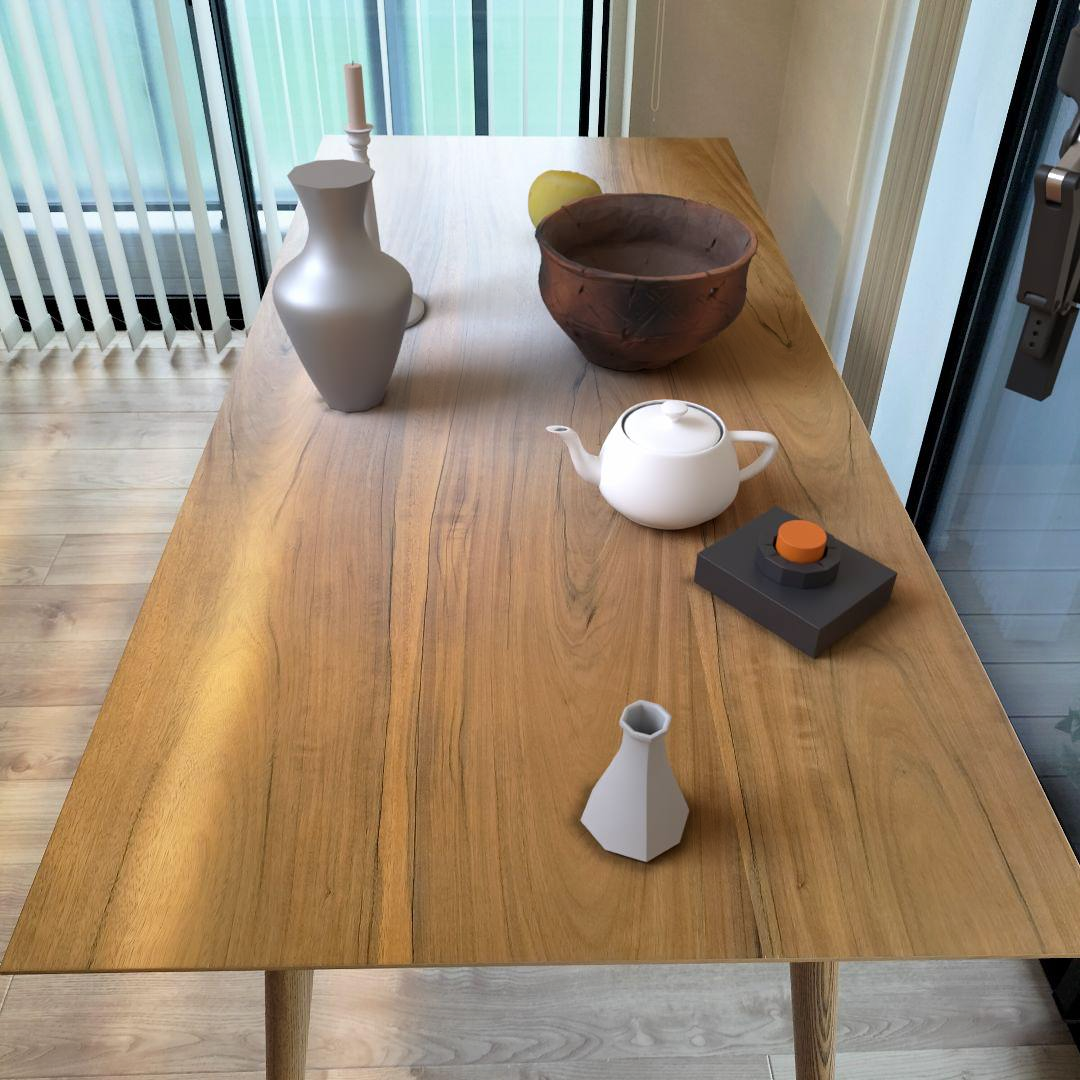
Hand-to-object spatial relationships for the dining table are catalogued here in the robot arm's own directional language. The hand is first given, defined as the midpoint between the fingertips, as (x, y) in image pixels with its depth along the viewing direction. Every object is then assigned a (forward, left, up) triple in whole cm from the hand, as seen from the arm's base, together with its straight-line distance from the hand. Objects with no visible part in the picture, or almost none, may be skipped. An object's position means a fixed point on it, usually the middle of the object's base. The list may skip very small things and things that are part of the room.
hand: (1027, 391), depth 76 cm
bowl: (+52, -17, -24) cm, 60 cm away
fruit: (+83, -34, -24) cm, 93 cm away
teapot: (+29, +4, -24) cm, 38 cm away
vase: (+65, +15, -24) cm, 71 cm away
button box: (+12, +5, -24) cm, 27 cm away
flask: (+4, +33, -24) cm, 41 cm away
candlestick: (+81, +1, -24) cm, 85 cm away
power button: (+12, +5, -19) cm, 23 cm away
